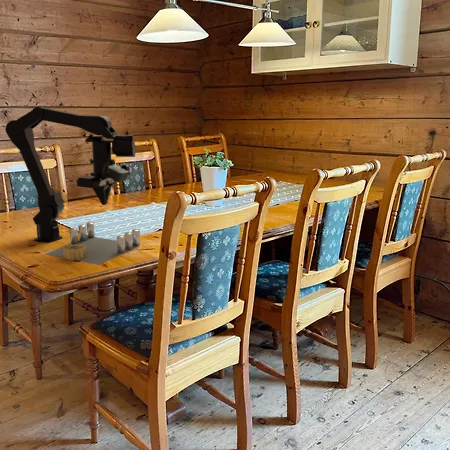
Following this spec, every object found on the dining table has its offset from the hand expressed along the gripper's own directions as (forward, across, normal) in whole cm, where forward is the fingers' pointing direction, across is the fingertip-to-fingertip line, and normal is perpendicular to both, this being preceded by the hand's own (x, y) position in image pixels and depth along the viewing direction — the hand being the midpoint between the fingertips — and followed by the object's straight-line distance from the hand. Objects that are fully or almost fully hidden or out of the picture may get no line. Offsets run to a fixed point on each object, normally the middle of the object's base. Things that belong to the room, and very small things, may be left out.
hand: (104, 204), depth 158 cm
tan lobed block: (+12, -18, -3) cm, 22 cm away
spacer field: (+12, -4, -3) cm, 13 cm away
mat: (+12, -10, -3) cm, 16 cm away
